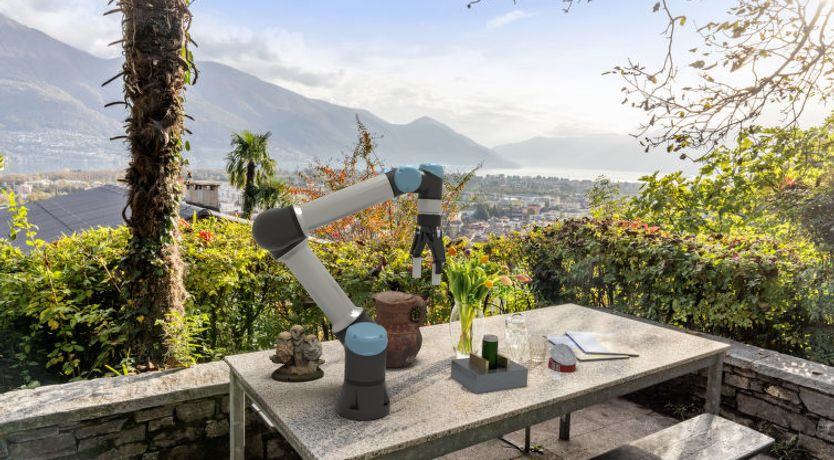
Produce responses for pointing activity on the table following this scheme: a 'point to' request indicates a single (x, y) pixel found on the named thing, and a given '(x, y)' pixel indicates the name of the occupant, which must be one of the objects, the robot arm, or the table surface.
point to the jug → (400, 325)
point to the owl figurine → (297, 356)
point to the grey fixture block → (488, 374)
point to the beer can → (490, 350)
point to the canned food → (562, 359)
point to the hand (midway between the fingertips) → (425, 281)
